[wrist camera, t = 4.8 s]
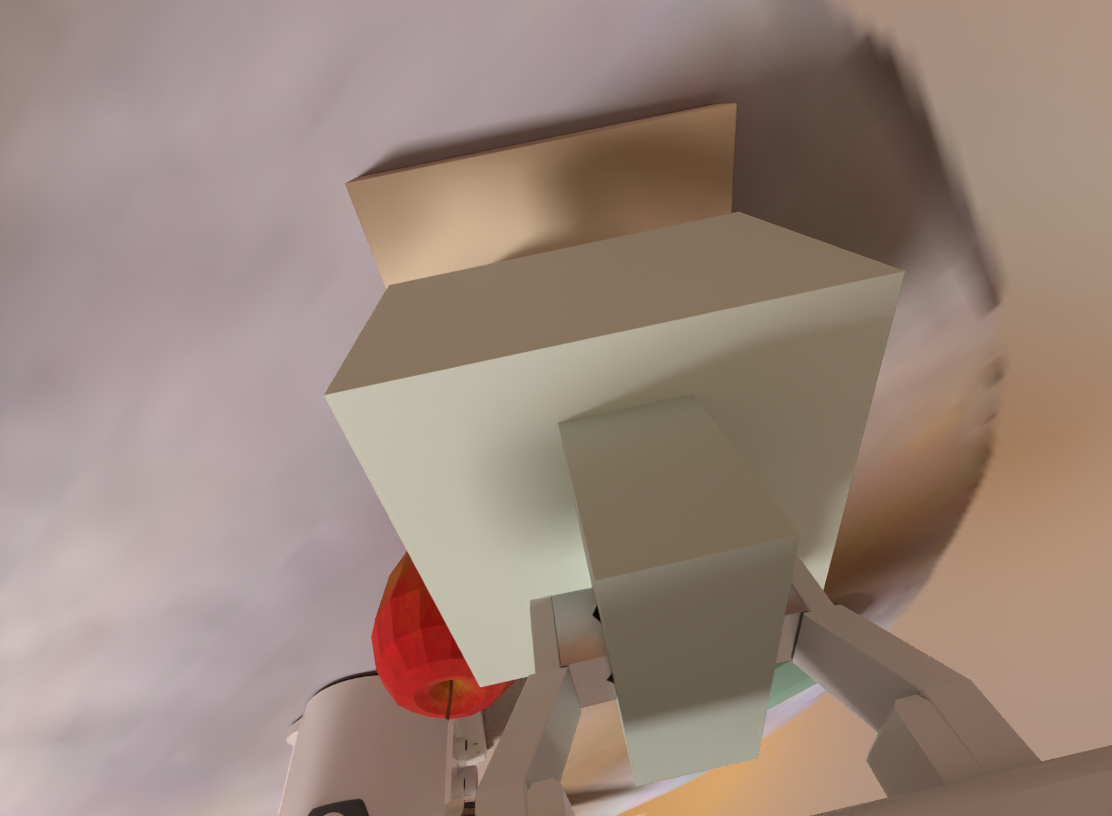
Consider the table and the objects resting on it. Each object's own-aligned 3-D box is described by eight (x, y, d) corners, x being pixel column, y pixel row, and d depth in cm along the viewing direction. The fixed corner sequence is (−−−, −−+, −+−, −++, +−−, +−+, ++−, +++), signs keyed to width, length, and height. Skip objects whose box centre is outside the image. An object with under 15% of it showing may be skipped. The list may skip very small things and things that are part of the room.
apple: (530, 565, 35) (546, 743, 25) (414, 583, 35) (384, 772, 25) (515, 476, 30) (528, 656, 20) (378, 496, 30) (323, 690, 20)
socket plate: (707, 402, 29) (740, 446, 25) (461, 454, 29) (456, 506, 25) (716, 103, 20) (768, 102, 16) (357, 177, 20) (326, 192, 16)
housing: (725, 474, 21) (911, 748, 12) (481, 528, 21) (478, 849, 12) (738, 211, 15) (1156, 361, 6) (389, 284, 15) (222, 566, 5)
